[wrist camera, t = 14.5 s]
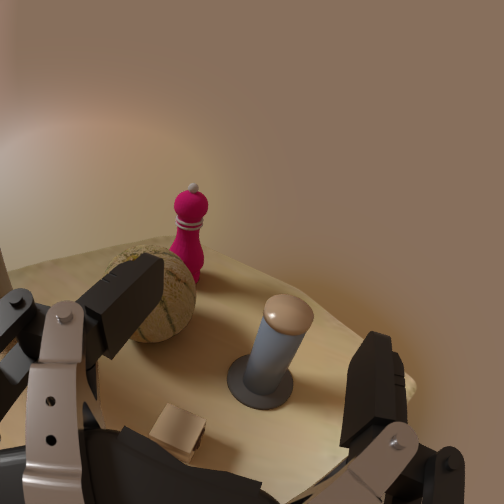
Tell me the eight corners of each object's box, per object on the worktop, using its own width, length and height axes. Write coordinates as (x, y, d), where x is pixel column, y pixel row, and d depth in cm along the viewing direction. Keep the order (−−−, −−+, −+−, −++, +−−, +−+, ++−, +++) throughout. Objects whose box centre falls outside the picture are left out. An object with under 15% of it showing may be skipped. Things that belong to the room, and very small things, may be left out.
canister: (236, 388, 38) (259, 318, 31) (248, 360, 43) (271, 288, 36) (274, 401, 38) (310, 335, 30) (283, 371, 43) (316, 303, 35)
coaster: (217, 395, 37) (217, 393, 37) (239, 347, 46) (239, 345, 46) (284, 418, 36) (285, 416, 36) (297, 367, 44) (298, 365, 44)
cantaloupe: (206, 315, 51) (217, 243, 43) (168, 376, 38) (167, 303, 30) (137, 286, 53) (135, 216, 45) (90, 335, 40) (73, 259, 32)
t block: (152, 447, 28) (148, 434, 26) (168, 418, 33) (167, 402, 30) (190, 464, 28) (191, 454, 25) (205, 434, 32) (208, 420, 29)
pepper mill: (179, 262, 62) (189, 173, 52) (208, 275, 60) (222, 184, 50) (159, 278, 56) (164, 182, 46) (188, 293, 54) (199, 195, 44)
